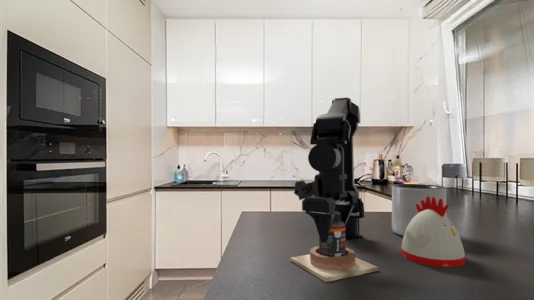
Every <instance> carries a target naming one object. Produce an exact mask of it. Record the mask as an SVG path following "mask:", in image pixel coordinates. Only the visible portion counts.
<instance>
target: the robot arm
mask: <svg viewBox="0 0 534 300" xmlns="http://www.w3.org/2000/svg"><path fill="white" fill-rule="evenodd" d="M360 123H361V112H360V106H359V105H357V104H355V103H354V102H353V101H352V99H351V97H338V98H337V97H335V98H333V99H332V100H331V105H330V108H329V109H328V110H327V113H324V114H320V115H318V116H317V117H316V119H315V121H313V124H312V125H313V126H312V130H311V136H310V142H309V143H310V145H311V146H312V145H314V146H313V147H311V149H310V150H309V153H308V156H307V159H308V160H307V161H308V163H309V166H310V167H311V168H312V169H313V170H314V171H316V172H318V173H317V174H315V175H314V181H311V182H307V183H306V181H305V180H299V181H296V182H295V183H294V187H293V189H294V191H293V194H294V195H295V196H297V197H298V200H299V201H301V211H303V212H304V213H305V214H306V215H308V216H310V217H311V218H312V219H313V222H314V224H315V227H316V230H317V233H318V238H319V237H320V240H321V242H322V243H326V242H327V239H328V236H329V233H330V230H331V226H332V223H333V220H334V217H335V213H336V212H340V213H341V221H342V222H343V223H344V224H345V240H351V239H358V238H363V237H364V235H363V234H360V219H362V218H363V219H364V218H365V204H364V202H363V200H362V198H361V197H360V191H359V190H358V189H359V188H357V187H356V185H355V176H354V175H355V173H354V172H355V169H354V168H355V167H354V136H355V135H356V133H357V131H358V129H359V124H360ZM333 211H335V212H333Z"/></svg>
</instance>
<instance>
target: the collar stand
mask: <svg viewBox="0 0 534 300" xmlns="http://www.w3.org/2000/svg"><path fill="white" fill-rule="evenodd" d="M345 250H346V256H341V257H329V256H323V255H320V254H319V245H316V246H314V247H312V248H310V249H309V254H305V255H298V256H293V257H292V256H291V257H290V262H291V263H293V264H295V265H297V266H298V267H300V268H302V269H303V270H305V271H306V272H308V273H310V274H312V275H313V276H315V277H317V278H318V279H319V280H321V281H323V282H325V283H328V282H333V281H337V280H341V279H347V278H352V277H356V276H360V275H364V274H369V273H374V272H378V271H379V266H376V265H374V264H373V263H372V264H371V263H369V262H367V261H364V260H362V259H361V258H358V257H356V253H355V251H354V249H351V248H348V247H346V249H345Z"/></svg>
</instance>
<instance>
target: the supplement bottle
mask: <svg viewBox="0 0 534 300" xmlns="http://www.w3.org/2000/svg"><path fill="white" fill-rule="evenodd" d="M333 212H335V211H333ZM318 241H319V242H318V246H319V254H320V255H323V256H329V257H341V256H346V250H345V249H346V248H347V247H346V239H345V224H344V223H343V222H342V221H341V213H340V212H336V213H335V217H334V220H333V223H332V226H331V230H330V233H329V236H328V239H327V242H326V243H322V242H321V240H320V237H319V236H318Z"/></svg>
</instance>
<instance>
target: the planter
mask: <svg viewBox="0 0 534 300" xmlns="http://www.w3.org/2000/svg"><path fill="white" fill-rule="evenodd" d="M428 196H429V197H430V200H431V202H432V197H435V199H436V203H437V205H438V202H439V199H443V208H444V207H445V205H448V204H447V187H446V186H444V185H436V184H422V183H421V184H419V183H399V184H398V183H397V184H393V185H391V231H393V233H395V234H397V235H399V236H401V237H404V234H405V231H406V229H407V226H408V224H409V223H410V221H411V220H412V219H413V218H414V217H415V216H416V215H417V214H418V213H419V212H418V210H417V207H416V204H419V205H420V207H421V209H422V205H421V200H424V201H425V203H426V197H428ZM445 216H446V217H447V218H448V210H447V211H446V213H445Z"/></svg>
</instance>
